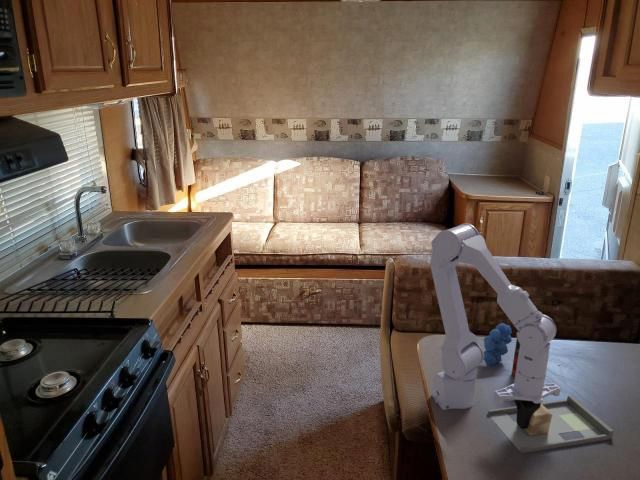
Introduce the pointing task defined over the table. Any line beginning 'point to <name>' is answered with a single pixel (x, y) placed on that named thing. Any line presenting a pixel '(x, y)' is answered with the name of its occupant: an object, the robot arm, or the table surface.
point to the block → (539, 422)
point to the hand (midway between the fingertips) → (522, 425)
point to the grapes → (497, 344)
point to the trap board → (554, 426)
